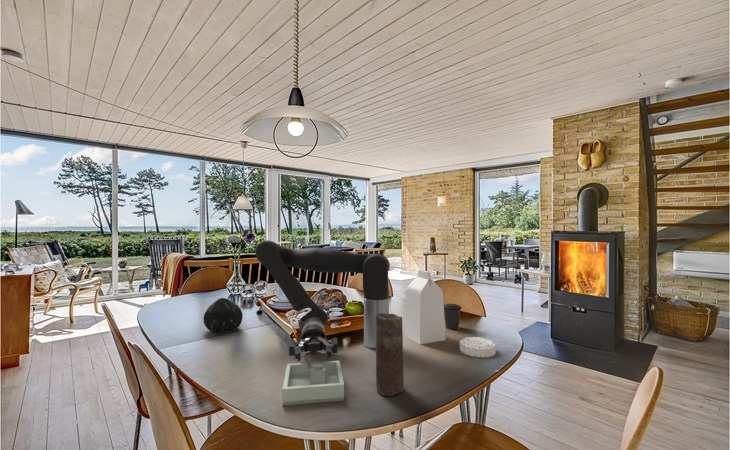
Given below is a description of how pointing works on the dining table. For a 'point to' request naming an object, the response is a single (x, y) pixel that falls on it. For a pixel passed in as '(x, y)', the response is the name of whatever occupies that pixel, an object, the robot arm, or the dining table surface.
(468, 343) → the mooncake
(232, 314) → the squash
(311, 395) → the bin
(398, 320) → the candle
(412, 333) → the milk
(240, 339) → the dining table surface
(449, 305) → the coffee cup
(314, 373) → the lighter
